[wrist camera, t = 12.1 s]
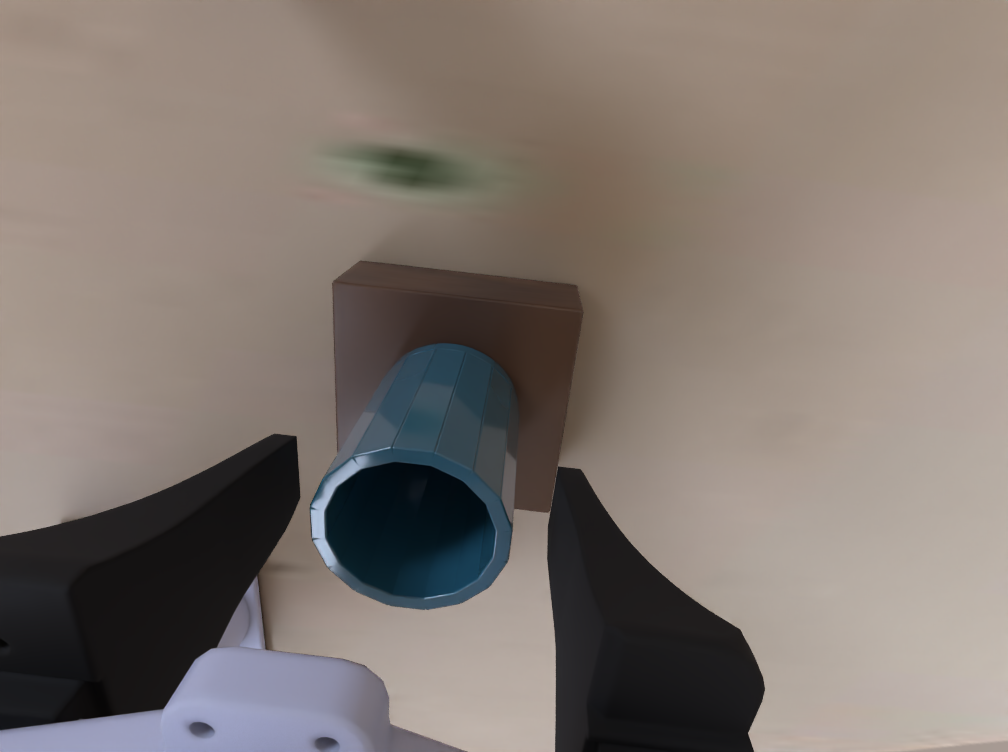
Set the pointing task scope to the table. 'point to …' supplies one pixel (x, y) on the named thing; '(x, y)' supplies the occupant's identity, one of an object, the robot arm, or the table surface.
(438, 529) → the small cup
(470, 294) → the walnut block
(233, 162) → the table surface
